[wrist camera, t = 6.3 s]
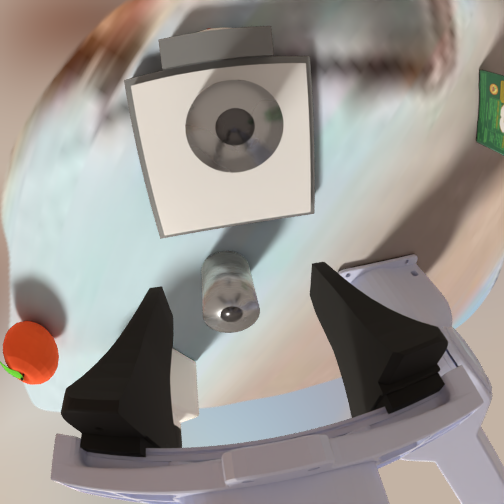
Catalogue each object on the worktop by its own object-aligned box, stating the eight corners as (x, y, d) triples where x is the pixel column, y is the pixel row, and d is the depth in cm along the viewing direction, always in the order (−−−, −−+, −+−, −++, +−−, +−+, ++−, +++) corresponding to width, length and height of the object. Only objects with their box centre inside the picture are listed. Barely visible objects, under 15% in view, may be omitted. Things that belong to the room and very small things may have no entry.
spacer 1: (263, 83, 14) (288, 84, 10) (257, 147, 16) (278, 173, 12) (192, 80, 13) (186, 78, 9) (190, 146, 16) (184, 172, 11)
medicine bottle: (148, 331, 27) (141, 443, 17) (197, 361, 30) (204, 460, 20) (111, 356, 28) (99, 452, 18) (157, 381, 32) (157, 469, 22)
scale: (298, 30, 14) (314, 23, 12) (307, 204, 21) (320, 221, 19) (126, 52, 13) (114, 47, 11) (162, 227, 21) (158, 247, 18)
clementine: (13, 334, 24) (-4, 380, 19) (4, 296, 21) (-22, 345, 15) (66, 354, 27) (54, 404, 21) (63, 319, 24) (45, 375, 18)
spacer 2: (246, 246, 23) (257, 288, 19) (251, 284, 25) (261, 327, 21) (196, 255, 22) (197, 298, 18) (206, 292, 25) (209, 336, 21)
